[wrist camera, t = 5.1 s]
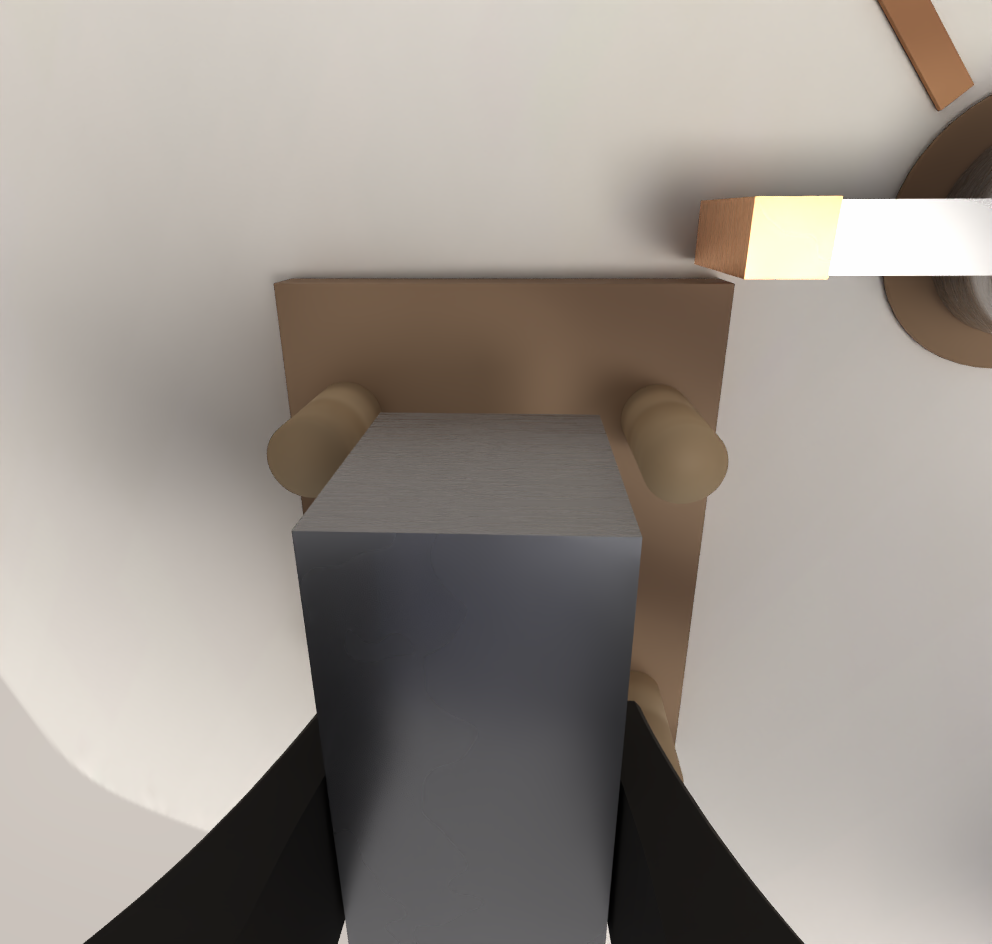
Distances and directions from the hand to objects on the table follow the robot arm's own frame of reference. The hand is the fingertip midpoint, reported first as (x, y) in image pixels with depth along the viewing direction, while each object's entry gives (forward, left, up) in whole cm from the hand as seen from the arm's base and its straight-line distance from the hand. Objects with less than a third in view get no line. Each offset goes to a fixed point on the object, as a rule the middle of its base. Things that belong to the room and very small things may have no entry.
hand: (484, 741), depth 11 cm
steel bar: (0, 0, -2) cm, 2 cm away
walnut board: (0, 0, -7) cm, 7 cm away
